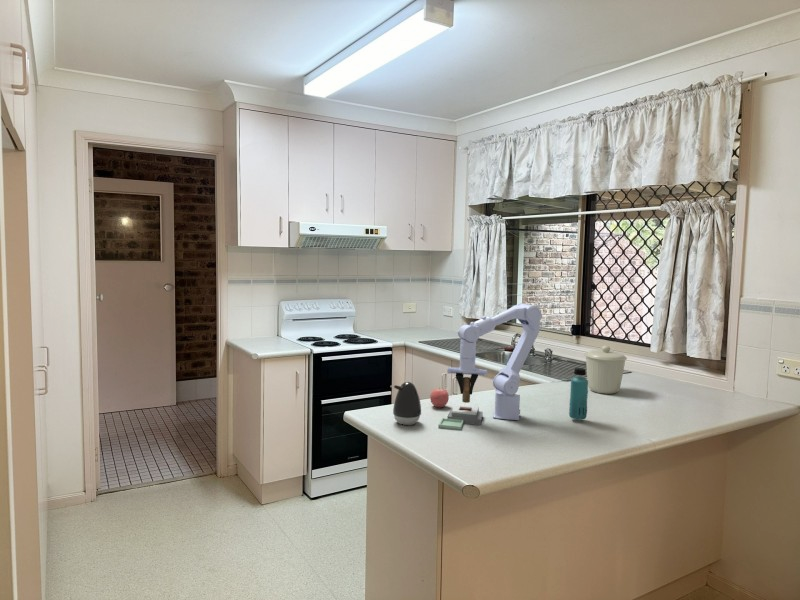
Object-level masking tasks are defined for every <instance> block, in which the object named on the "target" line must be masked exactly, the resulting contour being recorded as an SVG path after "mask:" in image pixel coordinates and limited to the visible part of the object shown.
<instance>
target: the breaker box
mask: <svg viewBox="0 0 800 600" xmlns="http://www.w3.org/2000/svg"><path fill="white" fill-rule="evenodd" d="M465 410H468V411H465ZM483 412H484V411H482V410H481V411H480V408H479V406H478V405H477V406H476V405H466V404H454V406H453V408H451V409H450V411H449V413H448V415H447V416H446V417H447V419H458V420H464V423H463V424H467V425H470V424H471V425H479V426H480V425H481V423H482V419H483Z"/></svg>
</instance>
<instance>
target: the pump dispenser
mask: <svg viewBox="0 0 800 600" xmlns="http://www.w3.org/2000/svg"><path fill="white" fill-rule="evenodd" d="M393 388H394V389H396V390H397V393H396V395H395V399H394V403H393V409H392V414H393V416H394V419H395V421H396V422H397V423H399V424H400V425H402V424H403V425H404V426H412V425H415V424H416V423H417V422H418V421H419V419H420V417H421V415H422V405H421V399H420V396H419V393H418V390H417V387H416V386H415V384H414V383H413V382H410V381H405V382H403V383H402V384H401V385H397V384H396V385H394V386H393Z"/></svg>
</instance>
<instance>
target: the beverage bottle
mask: <svg viewBox="0 0 800 600" xmlns="http://www.w3.org/2000/svg"><path fill="white" fill-rule="evenodd" d="M573 375H576V376H574V377H572V378H571V379H570V394H569V395H570V397H569V403H568V404H569V408H568V409H569V411H568V415H569V417H570V418H571V419H574V420H586V419H587V414H588V396H589V387H588V380H587V377H584V376H587V370H586V369H585V368H582V367H576V368H574V371H573Z"/></svg>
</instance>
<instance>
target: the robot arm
mask: <svg viewBox="0 0 800 600" xmlns="http://www.w3.org/2000/svg"><path fill="white" fill-rule="evenodd" d="M542 318H543V314H542V312H541V309H540V308H539V307H538V306H537V305H531V304H526V303H523V302H520V303H517V304H515V305H512V306H511V307H510V308H508V309H505V310H504V311H501V313H498V314H497V315H495V316H493V317H491V316H485V315H482V316H481V317H480V319H478V320H476V321H471V322H470V323H469V324H463V325H462V326H461V327H460V328H459V330H458V331H457V336H458V338H459V339H460V340H459V341H460V345H459V346H460V347H459V367H447V369H446V370H447V371H446V372H447V374H455V379H456V381H457V383H458V387H459V391H460V394H461V395H463V377H464V375H467V376H468V375H470V378H471V383H470V396H471V395H473V389H474V387H475V383H476V382H477V380H478V377H479V376H483V377H488V376H487V375H488V369H480V368H476V350H477V341H478V339H479V338H480V337H483V336H485V335H486V334H487V335H488V334H489V333H491V332H493V331H494V330H495V329H496V328H495V327H496V326H499V325H501V324H505V323H506V322H508V321H509V322H510V321H511V320H514V319H515V320H517V321H519V322H520V324H521V326H522V329H523V331H522V333H521V335H520V336H519V337H520V338H519V339H518V341H517V343H516V345H515V347H514V349H513V351H512V353H511V356H510V357H509V359H508V361H507V362H506V363H507V364H506V366H505V367H502V368H501V369H500V370H499V372H498V373H497V374H496V375H495V376H494V377H493V380H492V385H493V387H494V388H495V401H494V403H495V405H494V412H493V416H492V418H493V419H500V420H501V419H502V420H509V421H510V420H513V421H519V419H520V415H521V409H520V405H521V403H520V401H521V395H520V394H516V393H517V392H518V391H519V386H520V384H519V383H520V382H521V377H520V372H521V370H522V368H523V366H524V365H525V364H524V363H525V362H526V359H527V358H528V356H529V354H530V352H531V349H532V347H533V345H534V344H535V341H536V339H537V337H538V336H539V333H540V330H541V329H540V327H541V320H542Z"/></svg>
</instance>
